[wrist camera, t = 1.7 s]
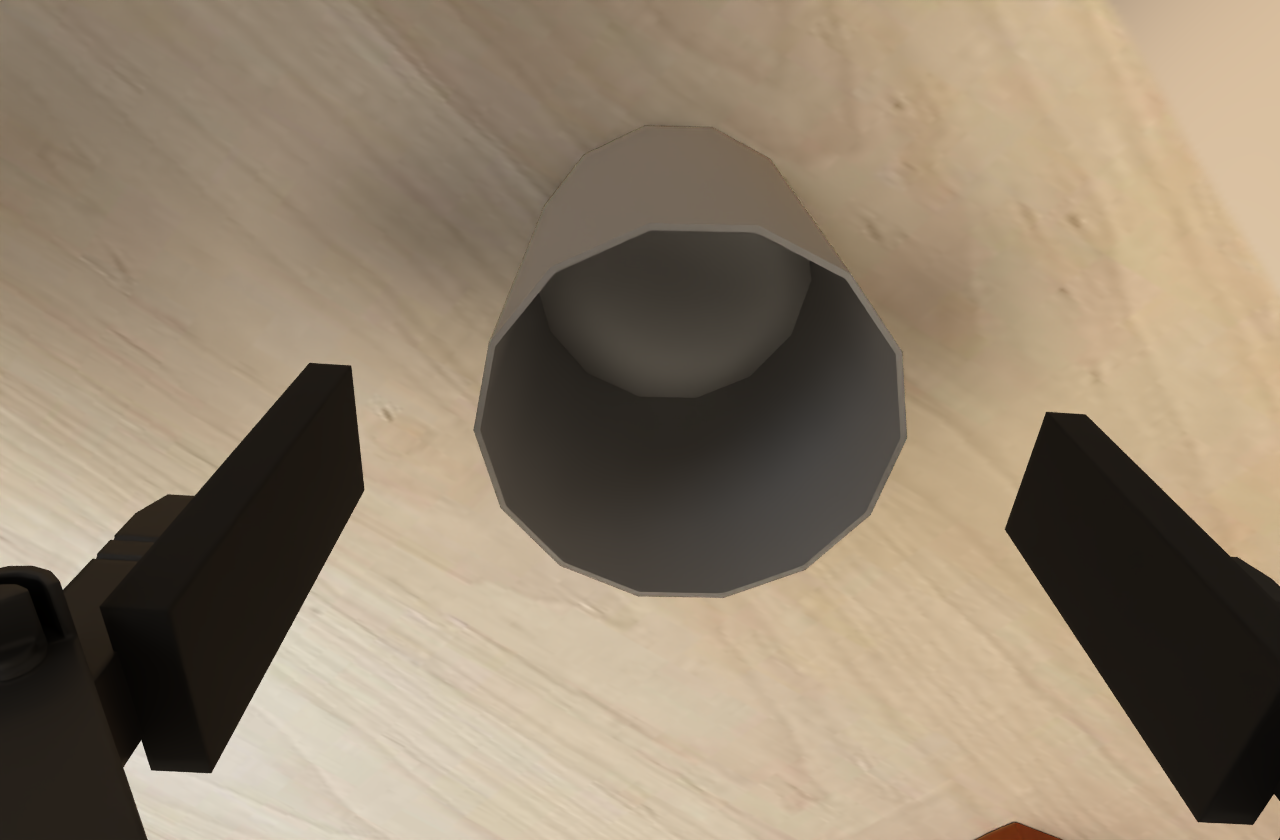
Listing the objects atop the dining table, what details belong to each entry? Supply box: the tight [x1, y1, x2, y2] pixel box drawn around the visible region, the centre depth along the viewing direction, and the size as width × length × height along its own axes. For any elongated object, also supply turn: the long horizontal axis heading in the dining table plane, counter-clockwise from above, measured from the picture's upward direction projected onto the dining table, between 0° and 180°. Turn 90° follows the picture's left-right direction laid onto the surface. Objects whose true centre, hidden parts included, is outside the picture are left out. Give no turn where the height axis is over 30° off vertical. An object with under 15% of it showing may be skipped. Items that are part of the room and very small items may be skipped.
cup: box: [474, 126, 907, 598], centre depth 20 cm, size 8×8×10 cm
